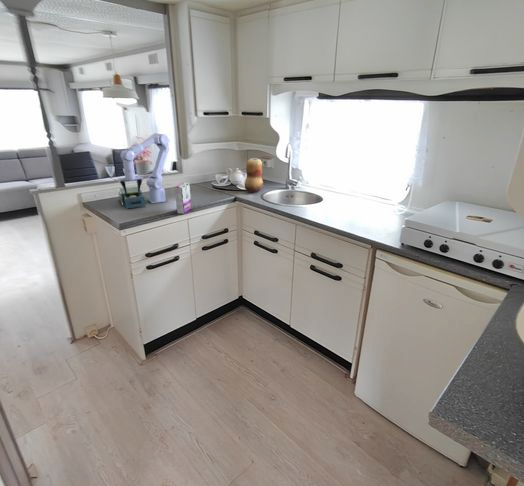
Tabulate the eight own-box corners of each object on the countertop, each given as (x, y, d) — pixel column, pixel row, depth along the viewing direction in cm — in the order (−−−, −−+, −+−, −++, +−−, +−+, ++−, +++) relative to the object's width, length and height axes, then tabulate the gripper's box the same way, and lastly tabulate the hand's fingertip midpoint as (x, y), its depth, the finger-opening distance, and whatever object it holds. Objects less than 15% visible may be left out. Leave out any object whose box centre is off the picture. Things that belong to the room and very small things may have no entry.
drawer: (146, 207, 201) (145, 198, 198) (127, 210, 195) (125, 200, 193) (141, 200, 215) (139, 191, 213) (122, 202, 210) (121, 193, 208)
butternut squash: (249, 195, 235) (249, 160, 225) (241, 191, 246) (241, 157, 236) (266, 193, 241) (267, 159, 232) (257, 189, 252) (258, 156, 242)
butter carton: (130, 202, 207) (129, 195, 205) (136, 202, 208) (135, 195, 207) (131, 204, 203) (130, 197, 201) (137, 203, 204) (136, 197, 203)
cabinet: (143, 203, 213) (141, 191, 209) (122, 206, 207) (120, 193, 204) (139, 198, 224) (137, 186, 221) (119, 200, 218) (117, 188, 215)
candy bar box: (184, 208, 204) (182, 182, 197) (191, 209, 203) (189, 183, 196) (176, 213, 193) (174, 186, 187) (184, 214, 193) (182, 187, 186)
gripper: (117, 172, 191) (121, 195, 196) (143, 170, 198) (145, 192, 203) (115, 170, 197) (119, 192, 202) (140, 168, 203) (143, 190, 209)
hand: (132, 192), depth 203 cm, fingers open, 7 cm apart
